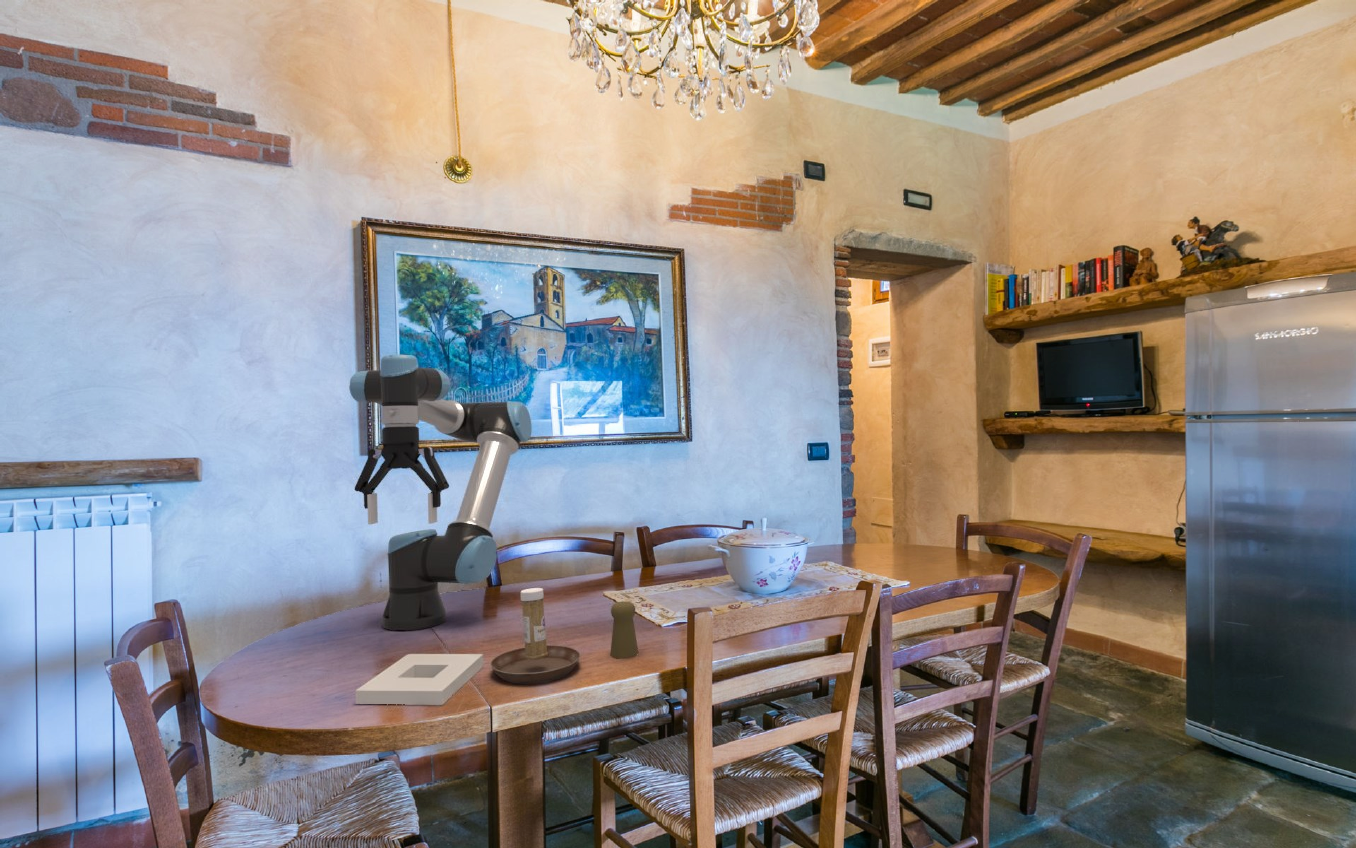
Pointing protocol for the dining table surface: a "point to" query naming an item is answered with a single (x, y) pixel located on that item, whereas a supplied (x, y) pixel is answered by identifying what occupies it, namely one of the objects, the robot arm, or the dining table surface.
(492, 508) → the robot arm
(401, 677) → the white board with recess
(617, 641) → the pepper mill
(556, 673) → the plant saucer
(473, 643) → the dining table surface
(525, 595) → the sprinkles bottle
